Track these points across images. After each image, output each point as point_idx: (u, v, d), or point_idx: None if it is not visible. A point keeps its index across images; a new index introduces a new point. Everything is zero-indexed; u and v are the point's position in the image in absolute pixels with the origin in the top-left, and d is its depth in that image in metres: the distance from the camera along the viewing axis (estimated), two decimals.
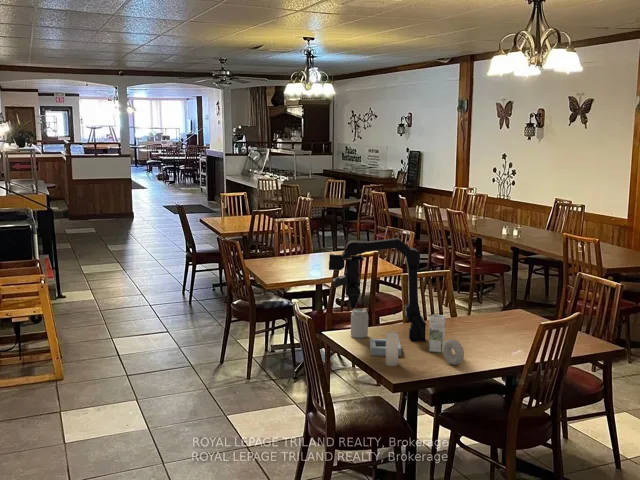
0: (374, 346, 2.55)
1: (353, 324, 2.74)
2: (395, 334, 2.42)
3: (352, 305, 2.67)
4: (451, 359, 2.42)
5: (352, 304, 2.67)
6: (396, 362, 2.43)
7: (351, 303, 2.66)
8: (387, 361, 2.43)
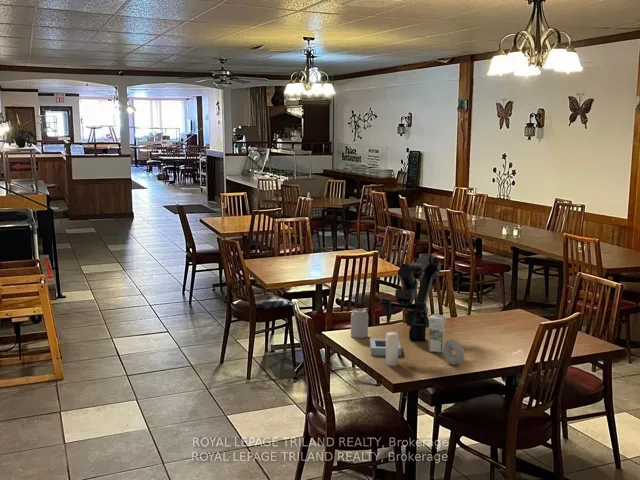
0: (374, 346, 2.55)
1: (353, 324, 2.74)
2: (395, 334, 2.42)
3: (412, 323, 2.47)
4: (451, 359, 2.42)
5: (413, 322, 2.48)
6: (396, 362, 2.43)
7: (413, 320, 2.47)
8: (387, 361, 2.43)
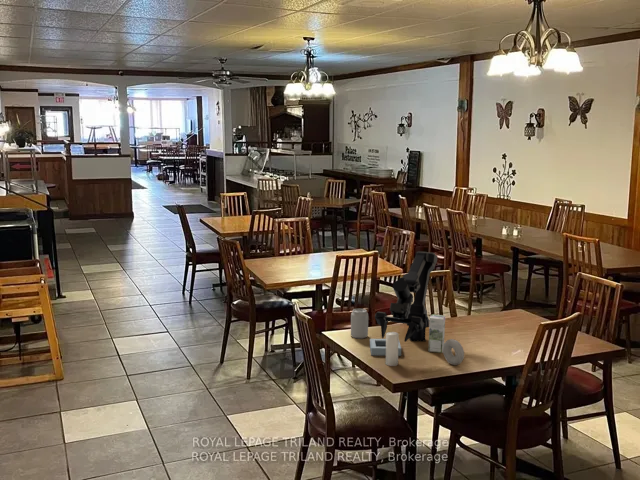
0: (374, 346, 2.55)
1: (353, 324, 2.74)
2: (395, 334, 2.42)
3: (407, 337, 2.43)
4: (451, 359, 2.42)
5: (408, 336, 2.43)
6: (396, 362, 2.43)
7: (408, 335, 2.43)
8: (387, 361, 2.43)
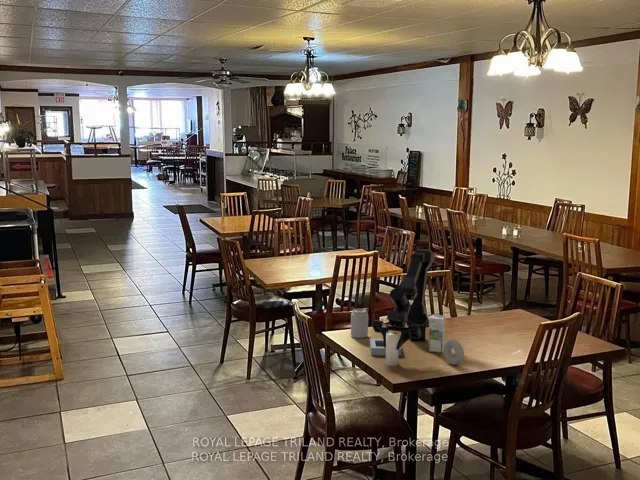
0: (374, 346, 2.55)
1: (353, 324, 2.74)
2: (395, 333, 2.42)
3: (399, 345, 2.42)
4: (451, 359, 2.42)
5: (400, 344, 2.42)
6: (396, 362, 2.42)
7: (400, 343, 2.42)
8: (387, 361, 2.43)
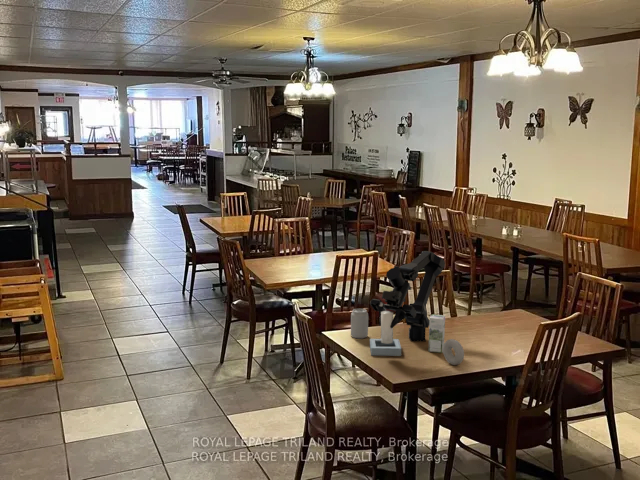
0: (374, 346, 2.55)
1: (353, 324, 2.74)
2: (390, 312, 2.49)
3: (393, 324, 2.48)
4: (451, 359, 2.42)
5: (394, 323, 2.48)
6: (390, 340, 2.49)
7: (394, 321, 2.48)
8: (381, 338, 2.50)
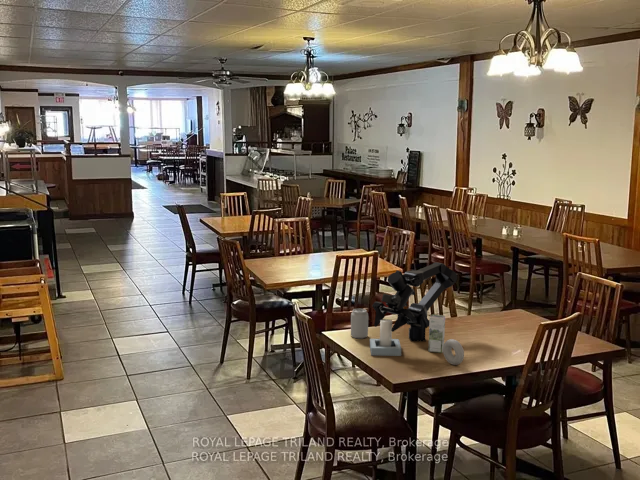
0: (374, 346, 2.55)
1: (353, 324, 2.74)
2: (388, 321, 2.57)
3: (395, 328, 2.54)
4: (451, 359, 2.42)
5: (395, 327, 2.54)
6: None
7: (396, 325, 2.54)
8: (379, 345, 2.59)
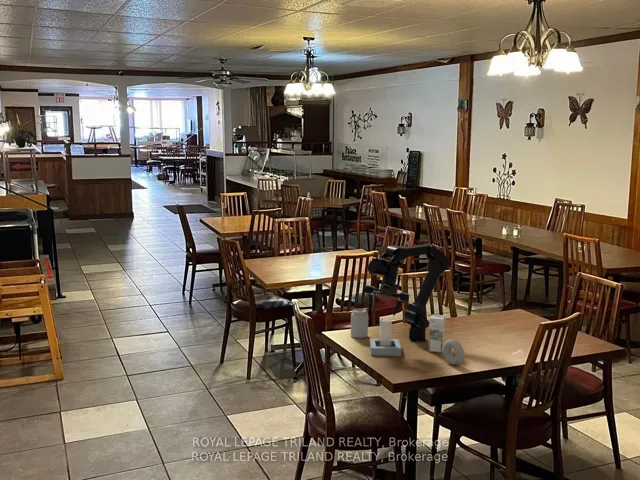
0: (374, 346, 2.55)
1: (353, 324, 2.74)
2: (388, 321, 2.57)
3: None
4: (451, 359, 2.42)
5: (396, 311, 2.61)
6: None
7: None
8: (379, 346, 2.59)
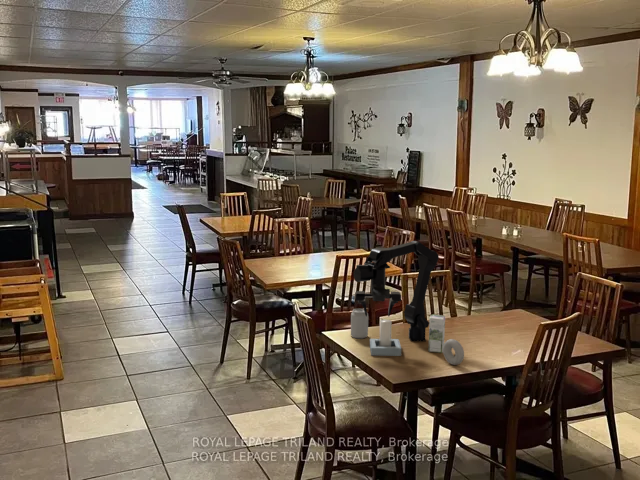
0: (374, 346, 2.55)
1: (353, 324, 2.74)
2: (388, 321, 2.57)
3: (390, 312, 2.62)
4: (451, 359, 2.42)
5: (390, 311, 2.62)
6: None
7: None
8: (379, 346, 2.59)
